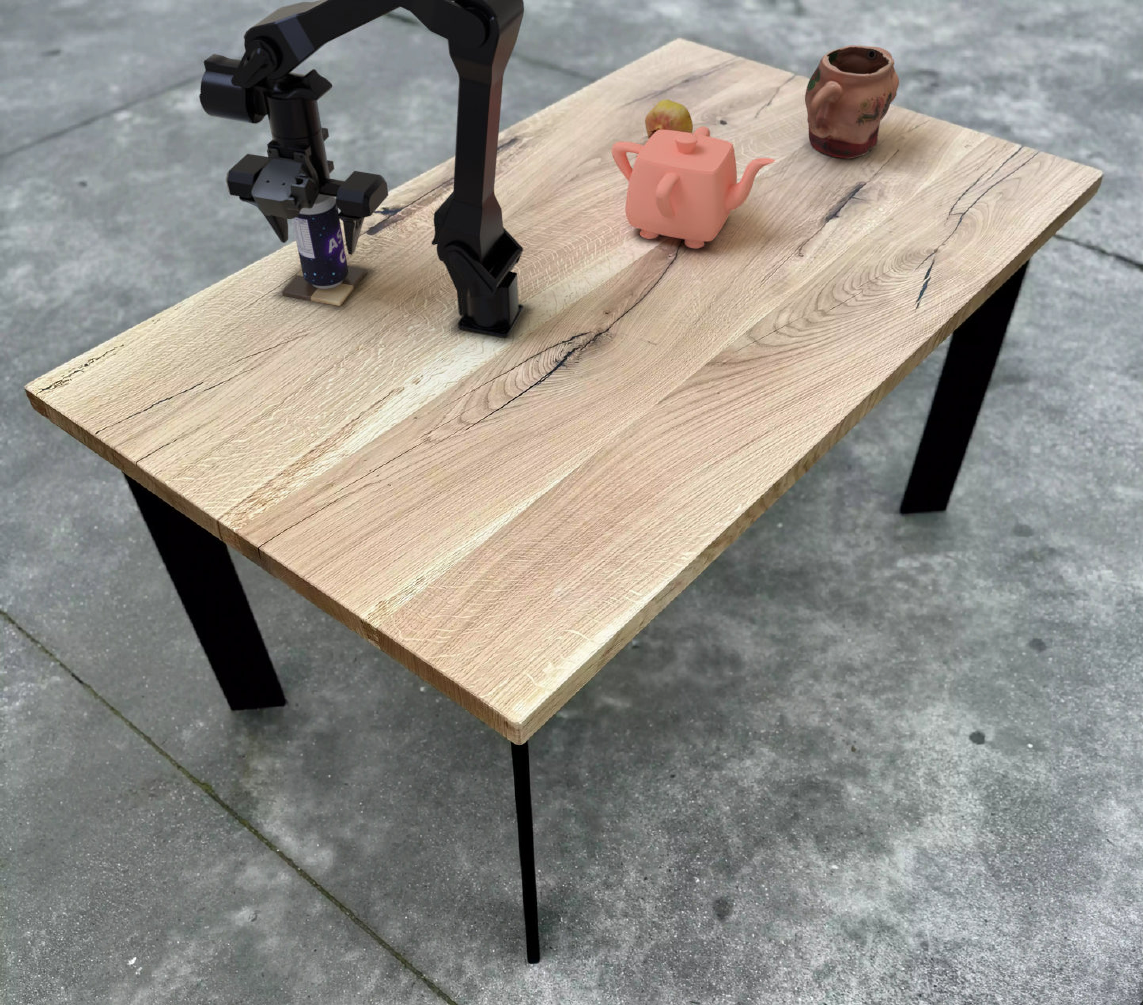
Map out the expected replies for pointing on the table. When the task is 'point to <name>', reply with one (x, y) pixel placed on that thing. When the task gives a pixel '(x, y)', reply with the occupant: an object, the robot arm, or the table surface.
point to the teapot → (683, 184)
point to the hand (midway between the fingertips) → (318, 247)
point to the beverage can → (321, 243)
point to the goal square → (328, 296)
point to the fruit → (668, 118)
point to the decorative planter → (849, 99)
